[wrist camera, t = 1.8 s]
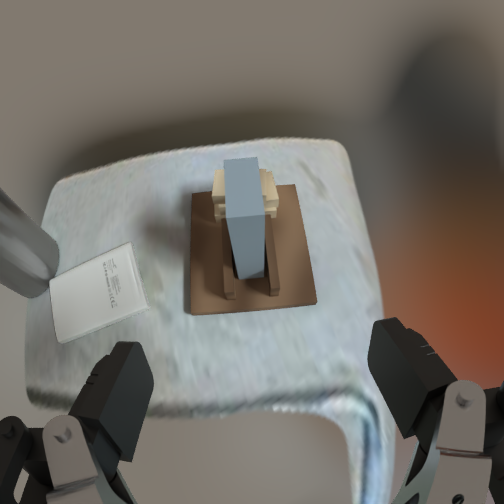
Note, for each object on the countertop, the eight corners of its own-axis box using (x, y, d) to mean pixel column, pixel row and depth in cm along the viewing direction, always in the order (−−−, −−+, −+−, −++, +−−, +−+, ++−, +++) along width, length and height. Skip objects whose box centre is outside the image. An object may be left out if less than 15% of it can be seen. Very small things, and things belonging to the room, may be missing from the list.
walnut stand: (193, 315, 27) (184, 306, 24) (193, 198, 33) (187, 180, 30) (315, 304, 27) (322, 294, 24) (294, 189, 33) (296, 170, 30)
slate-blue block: (239, 279, 27) (226, 218, 17) (235, 234, 29) (223, 160, 19) (263, 277, 27) (265, 214, 17) (258, 232, 29) (257, 157, 19)
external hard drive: (56, 283, 29) (135, 246, 31) (65, 344, 26) (152, 310, 28) (48, 279, 28) (129, 239, 29) (57, 342, 24) (147, 306, 26)
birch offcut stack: (216, 223, 30) (210, 200, 26) (215, 192, 32) (210, 167, 28) (278, 218, 30) (280, 194, 26) (273, 187, 32) (274, 162, 28)
